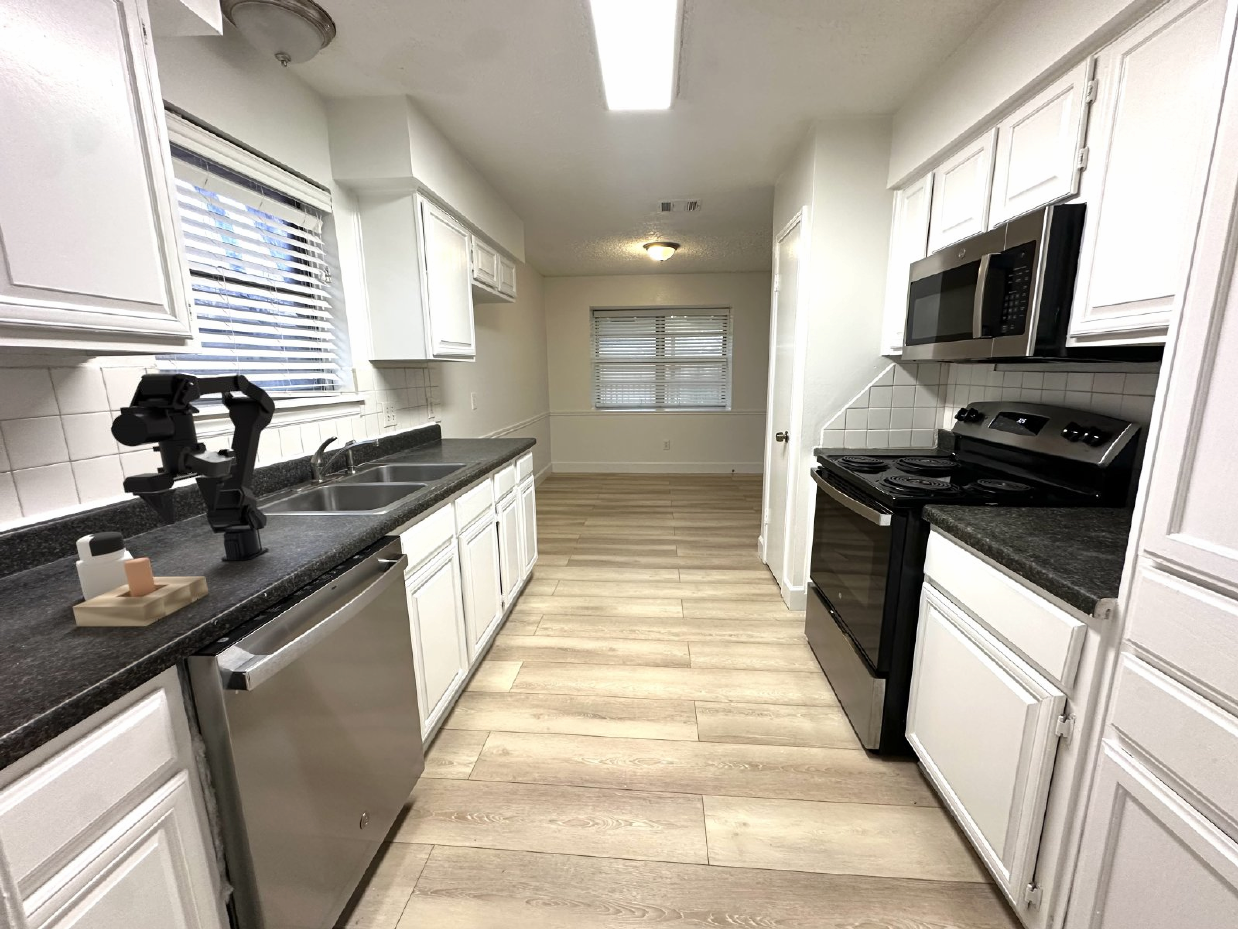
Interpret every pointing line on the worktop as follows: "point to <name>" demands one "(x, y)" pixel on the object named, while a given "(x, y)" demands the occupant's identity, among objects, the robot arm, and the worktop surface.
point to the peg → (139, 577)
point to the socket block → (140, 603)
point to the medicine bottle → (102, 563)
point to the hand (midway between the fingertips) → (192, 517)
